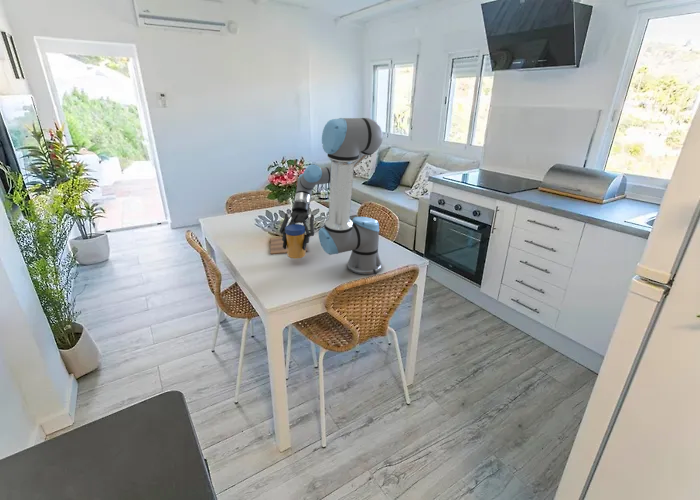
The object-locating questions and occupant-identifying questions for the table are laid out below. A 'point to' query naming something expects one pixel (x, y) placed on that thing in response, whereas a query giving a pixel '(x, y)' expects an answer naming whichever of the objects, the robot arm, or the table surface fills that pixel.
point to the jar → (295, 246)
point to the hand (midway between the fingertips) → (294, 248)
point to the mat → (278, 246)
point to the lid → (295, 229)
